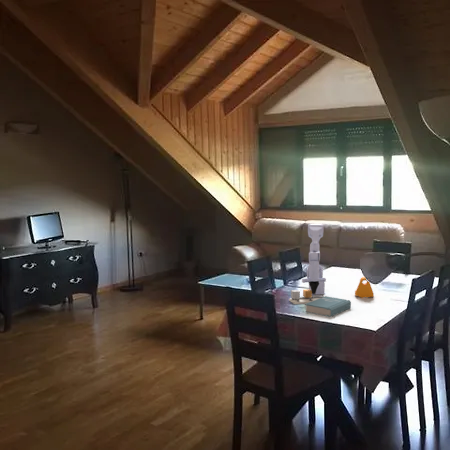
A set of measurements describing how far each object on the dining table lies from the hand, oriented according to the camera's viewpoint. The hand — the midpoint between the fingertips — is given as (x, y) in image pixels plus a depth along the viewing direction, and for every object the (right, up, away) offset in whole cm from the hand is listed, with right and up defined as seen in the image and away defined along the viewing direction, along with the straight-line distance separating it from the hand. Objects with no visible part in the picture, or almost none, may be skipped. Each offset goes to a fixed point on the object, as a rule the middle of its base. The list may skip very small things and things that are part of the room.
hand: (313, 293), depth 331 cm
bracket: (+33, -3, +10) cm, 35 cm away
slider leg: (-4, -3, -2) cm, 5 cm away
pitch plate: (-3, -4, -2) cm, 6 cm away
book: (+5, -7, -22) cm, 24 cm away
